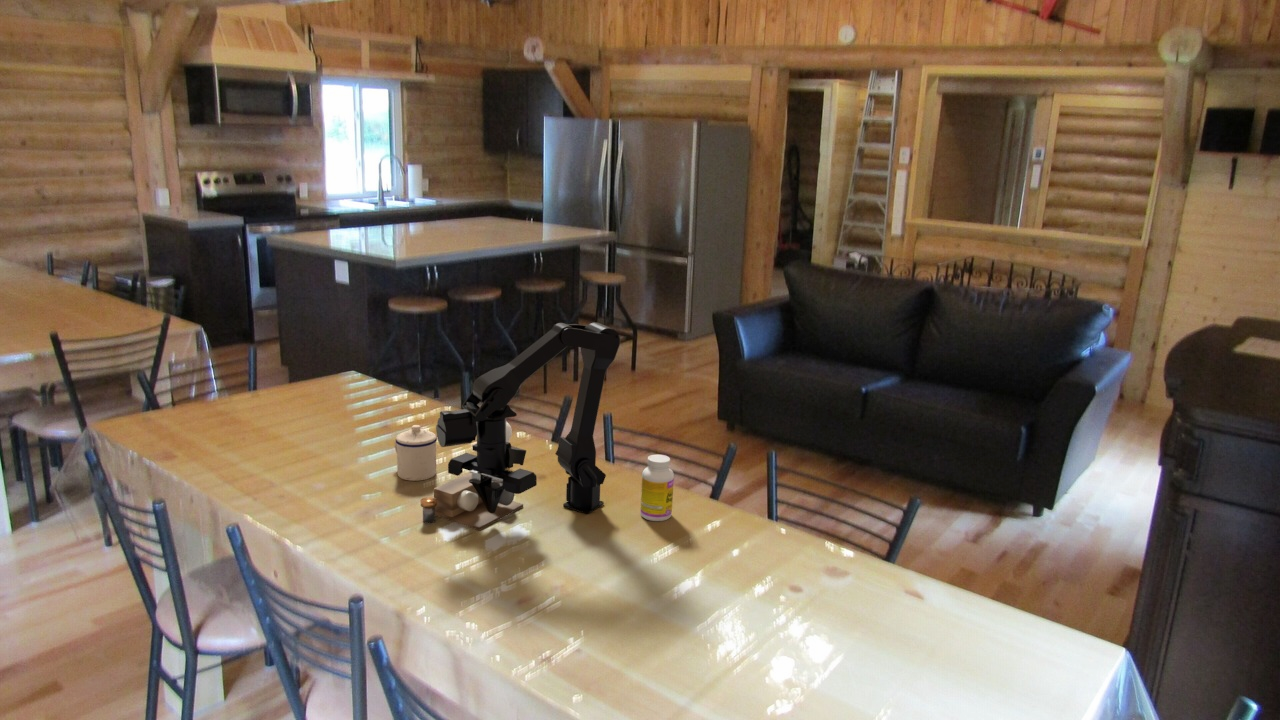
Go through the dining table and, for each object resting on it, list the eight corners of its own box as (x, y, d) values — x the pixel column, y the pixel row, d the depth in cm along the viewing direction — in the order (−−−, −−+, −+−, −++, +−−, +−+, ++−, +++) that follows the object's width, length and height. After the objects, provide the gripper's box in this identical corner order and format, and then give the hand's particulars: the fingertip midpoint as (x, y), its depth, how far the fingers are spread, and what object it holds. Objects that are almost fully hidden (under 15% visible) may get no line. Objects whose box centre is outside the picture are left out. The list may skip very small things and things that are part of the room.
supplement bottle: (668, 524, 178) (672, 465, 175) (637, 520, 180) (639, 462, 176) (674, 511, 185) (677, 454, 181) (643, 507, 186) (646, 451, 183)
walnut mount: (523, 506, 183) (523, 482, 182) (479, 530, 172) (478, 504, 170) (476, 492, 190) (476, 468, 188) (430, 513, 178) (430, 488, 177)
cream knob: (478, 507, 179) (478, 490, 178) (466, 513, 175) (465, 496, 174) (445, 497, 183) (445, 480, 182) (433, 502, 180) (432, 485, 179)
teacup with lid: (445, 474, 199) (445, 426, 196) (413, 485, 192) (412, 435, 189) (412, 460, 206) (411, 414, 203) (380, 471, 199) (378, 422, 196)
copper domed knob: (440, 520, 176) (440, 499, 174) (429, 525, 173) (428, 504, 172) (428, 516, 177) (428, 495, 176) (417, 521, 174) (417, 500, 173)
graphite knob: (514, 502, 182) (514, 485, 181) (502, 508, 179) (502, 491, 178) (481, 491, 186) (481, 475, 185) (469, 497, 183) (469, 480, 182)
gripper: (554, 438, 172) (553, 510, 176) (483, 419, 182) (483, 488, 186) (518, 454, 163) (518, 529, 167) (445, 433, 173) (446, 505, 177)
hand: (491, 512), depth 174 cm, fingers closed
